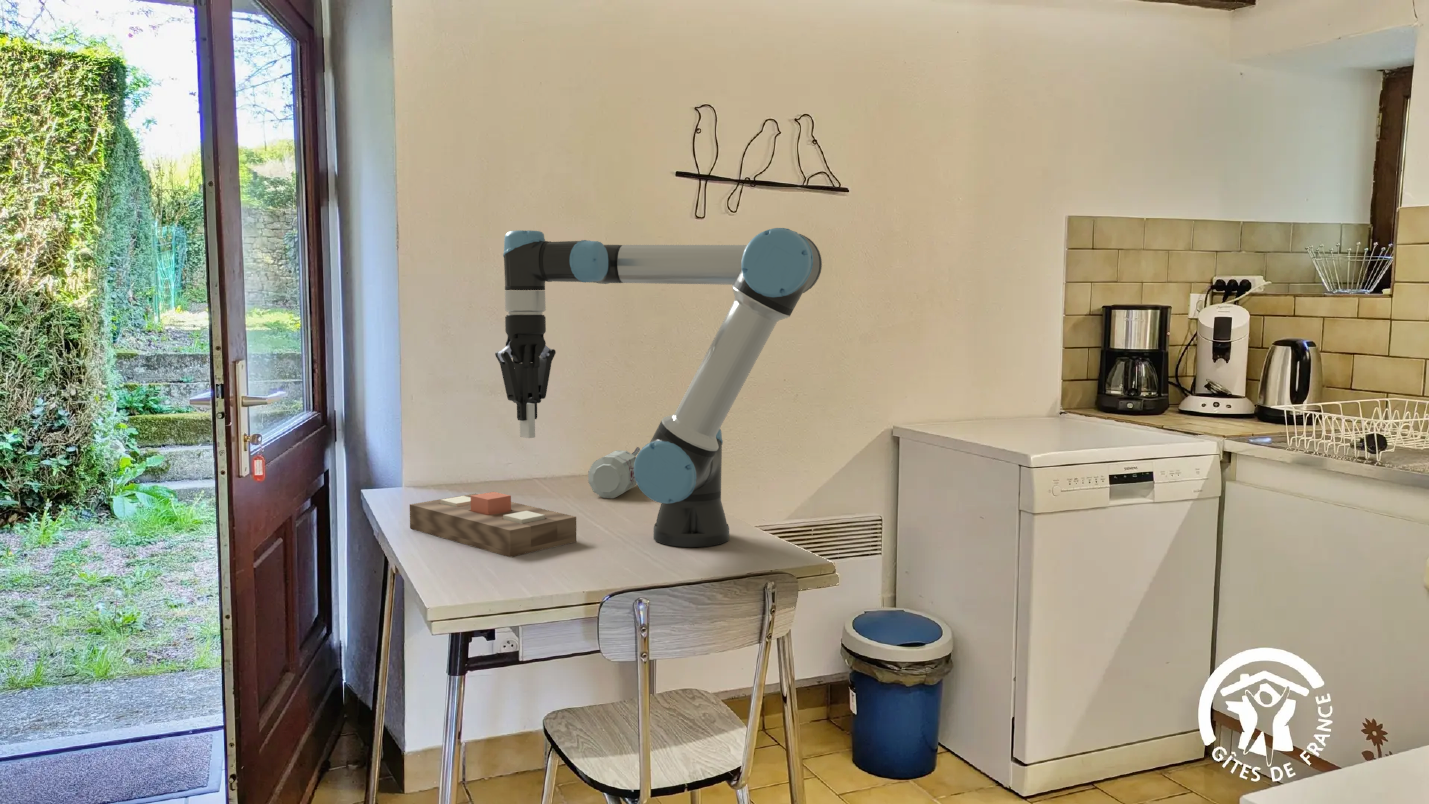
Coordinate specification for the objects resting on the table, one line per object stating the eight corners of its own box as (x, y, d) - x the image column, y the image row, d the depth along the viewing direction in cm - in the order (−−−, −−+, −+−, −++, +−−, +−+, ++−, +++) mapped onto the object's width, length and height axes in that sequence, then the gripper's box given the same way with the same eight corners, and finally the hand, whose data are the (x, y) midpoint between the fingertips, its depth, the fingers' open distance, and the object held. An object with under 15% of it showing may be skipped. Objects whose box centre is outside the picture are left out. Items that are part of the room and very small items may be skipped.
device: (626, 500, 235) (626, 458, 234) (586, 498, 237) (586, 456, 236) (659, 479, 265) (660, 442, 264) (623, 477, 267) (624, 440, 266)
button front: (545, 537, 193) (544, 514, 193) (521, 542, 189) (521, 519, 188) (526, 533, 197) (526, 510, 196) (503, 538, 192) (503, 515, 192)
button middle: (511, 517, 200) (510, 495, 199) (488, 522, 195) (487, 499, 195) (493, 513, 203) (493, 491, 203) (470, 517, 199) (470, 495, 199)
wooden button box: (576, 541, 195) (576, 516, 194) (510, 557, 183) (509, 530, 182) (475, 516, 216) (474, 493, 216) (410, 528, 204) (409, 504, 204)
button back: (479, 520, 207) (479, 499, 206) (456, 525, 202) (456, 503, 202) (463, 516, 210) (463, 495, 210) (440, 521, 206) (440, 499, 206)
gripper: (539, 313, 196) (541, 432, 198) (484, 313, 186) (487, 438, 188) (564, 313, 191) (566, 435, 193) (510, 314, 181) (512, 442, 184)
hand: (527, 437), depth 191 cm, fingers closed
